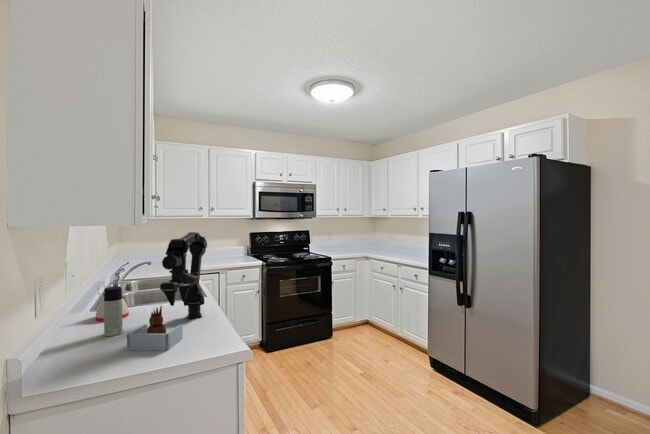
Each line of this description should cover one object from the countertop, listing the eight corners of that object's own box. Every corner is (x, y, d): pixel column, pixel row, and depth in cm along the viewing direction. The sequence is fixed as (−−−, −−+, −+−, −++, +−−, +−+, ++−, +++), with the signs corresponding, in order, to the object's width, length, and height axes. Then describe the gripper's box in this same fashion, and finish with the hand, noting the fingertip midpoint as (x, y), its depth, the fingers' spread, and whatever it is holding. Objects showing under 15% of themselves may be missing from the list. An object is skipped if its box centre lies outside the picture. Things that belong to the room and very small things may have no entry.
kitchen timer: (126, 319, 158) (126, 288, 158) (92, 323, 152) (92, 292, 152) (130, 311, 171) (129, 283, 170) (99, 315, 165) (98, 286, 165)
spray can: (120, 329, 143) (119, 285, 143) (124, 333, 138) (123, 287, 138) (102, 333, 138) (101, 287, 138) (106, 338, 133) (105, 290, 133)
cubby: (144, 338, 132) (144, 324, 132) (182, 338, 131) (182, 324, 131) (127, 350, 121) (126, 334, 121) (168, 350, 120) (167, 334, 120)
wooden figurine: (168, 340, 130) (168, 303, 130) (161, 346, 124) (161, 308, 124) (151, 341, 130) (151, 304, 129) (144, 347, 124) (143, 308, 124)
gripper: (185, 269, 131) (185, 308, 130) (205, 265, 150) (205, 299, 148) (159, 269, 132) (158, 308, 131) (182, 265, 150) (182, 299, 149)
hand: (178, 303), depth 140 cm, fingers open, 9 cm apart
